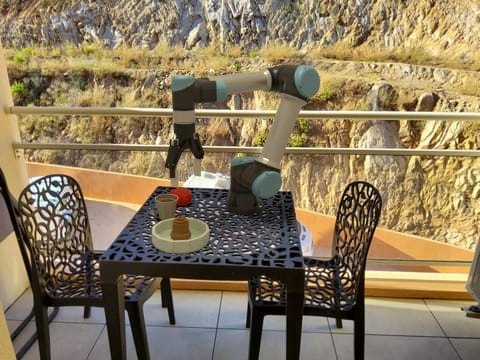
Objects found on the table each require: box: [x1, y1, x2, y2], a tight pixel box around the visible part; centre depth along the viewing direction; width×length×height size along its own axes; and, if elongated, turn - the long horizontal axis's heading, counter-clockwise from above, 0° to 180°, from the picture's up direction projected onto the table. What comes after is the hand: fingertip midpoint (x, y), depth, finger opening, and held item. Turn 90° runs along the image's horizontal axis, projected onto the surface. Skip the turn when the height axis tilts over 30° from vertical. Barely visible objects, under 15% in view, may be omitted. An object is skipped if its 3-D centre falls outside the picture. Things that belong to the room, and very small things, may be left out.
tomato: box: [168, 186, 193, 207], centre depth 174 cm, size 10×11×6 cm
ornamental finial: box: [170, 215, 191, 240], centre depth 138 cm, size 8×8×8 cm
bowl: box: [151, 217, 210, 255], centre depth 139 cm, size 20×20×4 cm
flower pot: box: [154, 193, 178, 221], centre depth 157 cm, size 9×9×9 cm
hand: (186, 180), depth 139 cm, fingers open, 13 cm apart
